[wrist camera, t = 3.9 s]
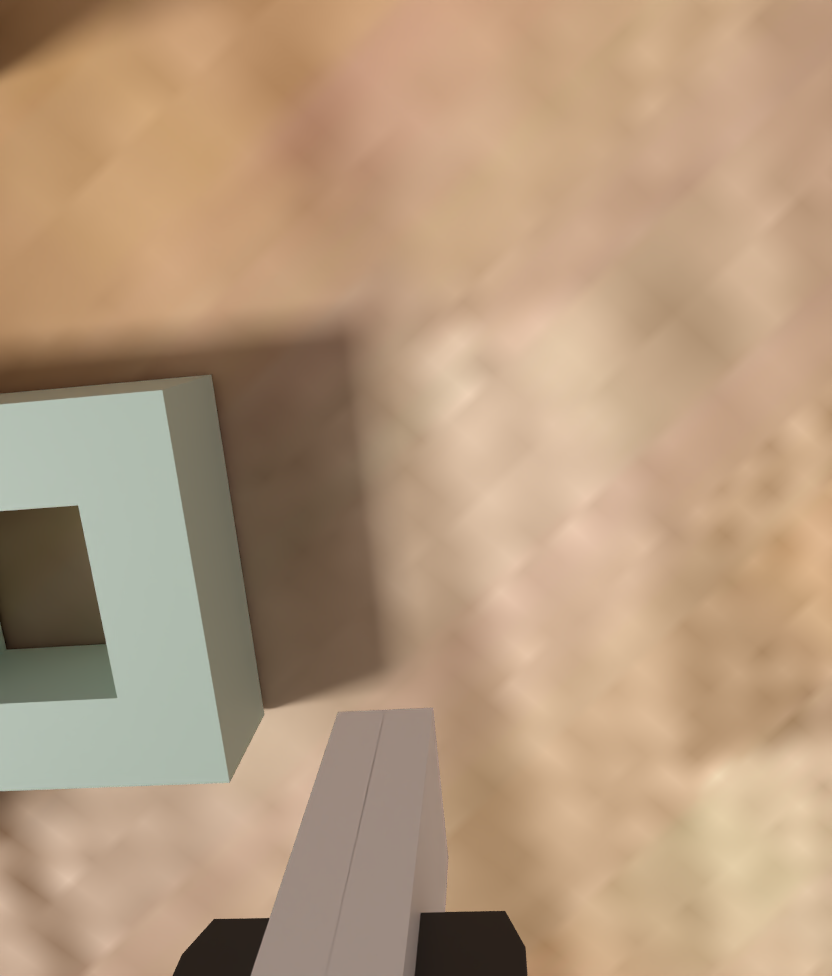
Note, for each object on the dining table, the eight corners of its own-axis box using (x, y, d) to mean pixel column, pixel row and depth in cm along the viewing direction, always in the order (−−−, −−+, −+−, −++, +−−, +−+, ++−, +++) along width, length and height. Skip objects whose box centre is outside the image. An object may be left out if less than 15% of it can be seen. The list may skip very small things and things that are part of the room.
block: (211, 374, 25) (162, 389, 21) (264, 714, 28) (229, 782, 24) (-138, 405, 26) (-244, 426, 22) (-53, 728, 29) (-134, 796, 25)
